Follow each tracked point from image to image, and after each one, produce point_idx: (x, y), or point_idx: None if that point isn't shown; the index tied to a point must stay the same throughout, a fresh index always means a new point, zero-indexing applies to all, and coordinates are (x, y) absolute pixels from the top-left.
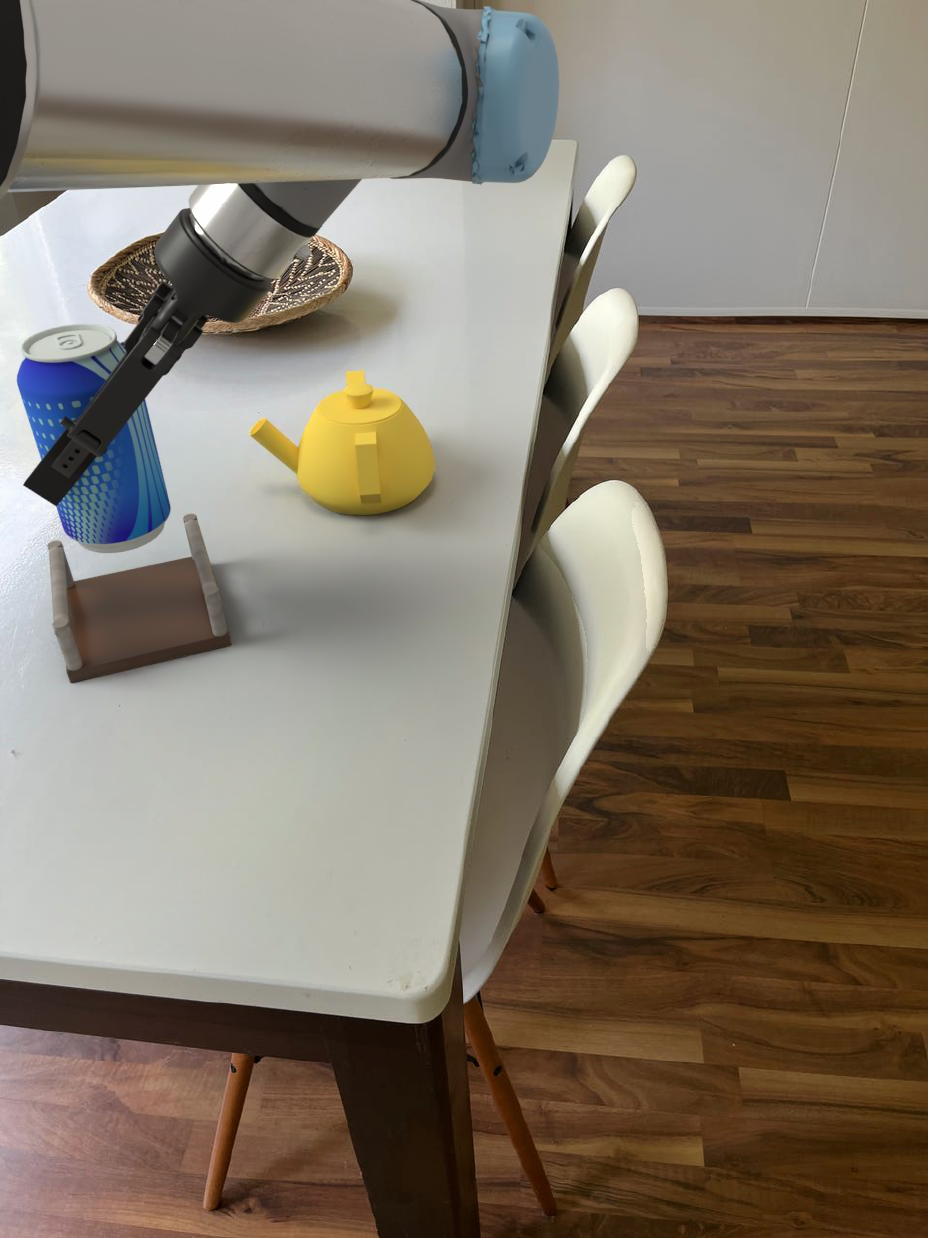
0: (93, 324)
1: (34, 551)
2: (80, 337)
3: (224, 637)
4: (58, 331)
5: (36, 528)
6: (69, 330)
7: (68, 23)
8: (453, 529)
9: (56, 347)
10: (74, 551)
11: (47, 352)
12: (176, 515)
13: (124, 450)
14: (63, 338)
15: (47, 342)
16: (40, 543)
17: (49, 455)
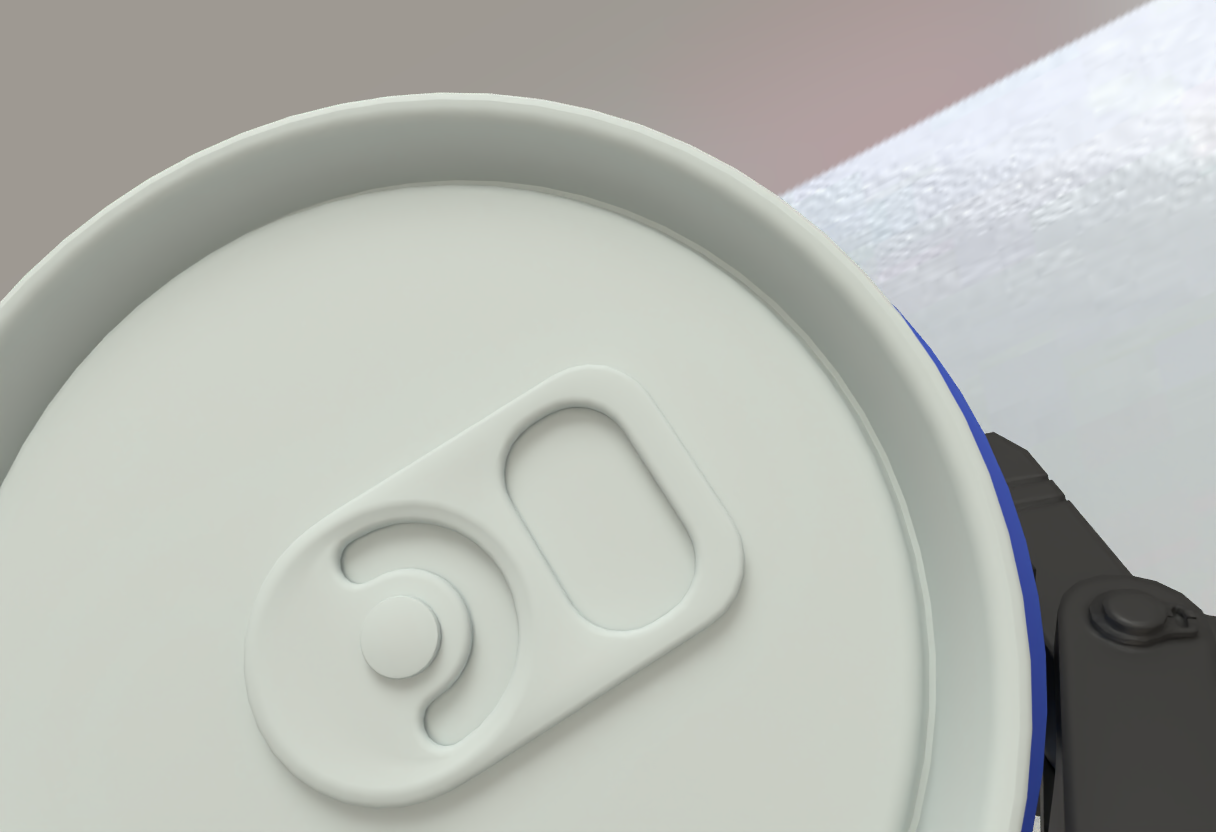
0: (1004, 741)
1: (896, 199)
2: (654, 666)
3: None
4: (799, 297)
5: (1006, 149)
6: (878, 404)
7: None
8: None
9: (328, 501)
10: (916, 300)
11: (184, 465)
12: (1166, 512)
13: None
14: (602, 457)
15: (460, 328)
16: (936, 195)
17: None
